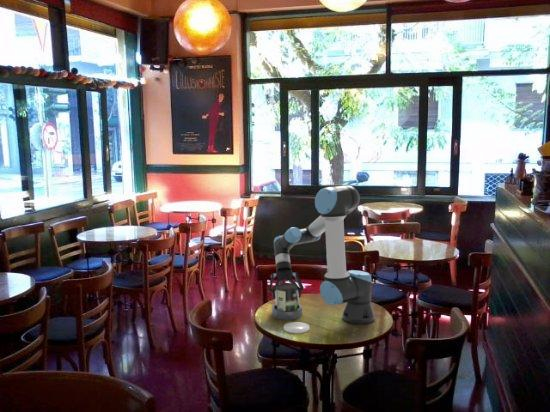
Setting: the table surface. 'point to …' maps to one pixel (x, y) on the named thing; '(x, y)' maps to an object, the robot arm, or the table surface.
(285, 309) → the coffee can
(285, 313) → the ring collar
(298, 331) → the saucer
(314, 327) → the table surface
